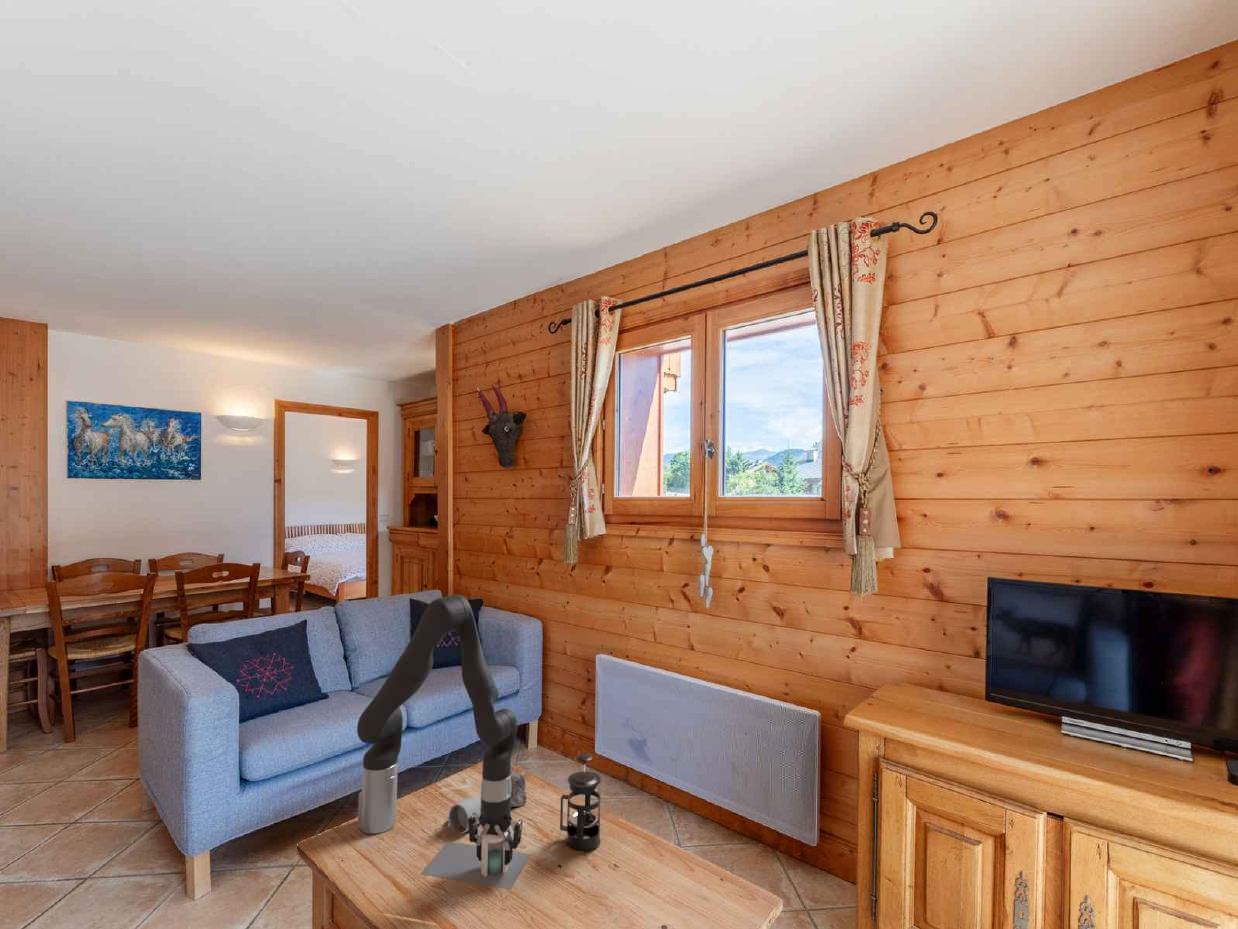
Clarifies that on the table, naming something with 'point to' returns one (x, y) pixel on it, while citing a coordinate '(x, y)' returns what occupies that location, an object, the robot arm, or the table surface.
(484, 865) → the cover cup
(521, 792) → the mineral rock
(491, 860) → the teal egg-shaped capsule
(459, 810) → the ceramic mug
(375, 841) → the table surface
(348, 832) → the table surface
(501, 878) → the mat
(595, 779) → the french press
